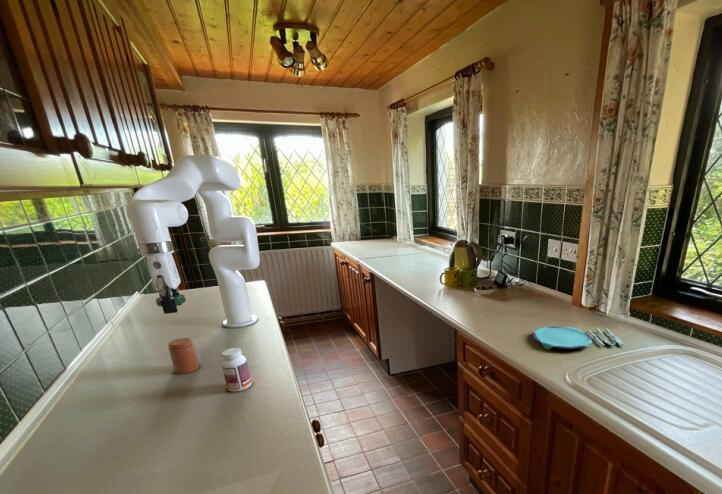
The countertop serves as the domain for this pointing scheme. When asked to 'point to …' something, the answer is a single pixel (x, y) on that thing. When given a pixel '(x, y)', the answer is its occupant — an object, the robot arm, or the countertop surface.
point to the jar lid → (178, 298)
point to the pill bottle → (235, 370)
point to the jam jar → (183, 355)
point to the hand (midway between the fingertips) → (173, 308)
